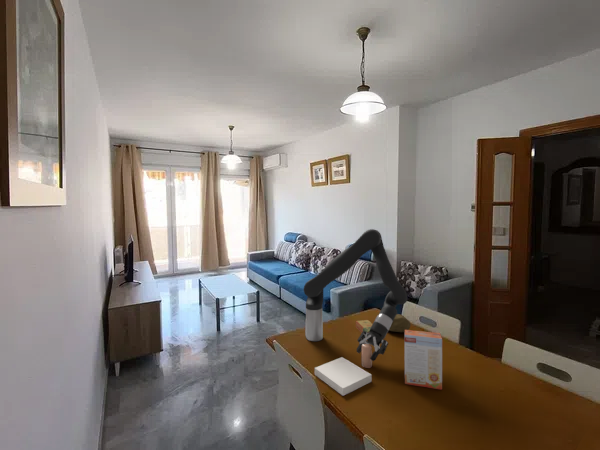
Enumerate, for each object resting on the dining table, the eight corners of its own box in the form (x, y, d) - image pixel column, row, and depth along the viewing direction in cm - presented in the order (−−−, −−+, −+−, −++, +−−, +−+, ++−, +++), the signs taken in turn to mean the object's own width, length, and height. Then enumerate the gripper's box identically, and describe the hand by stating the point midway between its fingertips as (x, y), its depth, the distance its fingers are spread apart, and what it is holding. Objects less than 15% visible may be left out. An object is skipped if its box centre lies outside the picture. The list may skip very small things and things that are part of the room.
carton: (368, 326, 181) (368, 319, 180) (380, 337, 165) (380, 330, 165) (355, 327, 179) (355, 320, 179) (367, 339, 163) (367, 331, 163)
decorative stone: (377, 331, 172) (377, 314, 171) (383, 325, 181) (383, 309, 181) (407, 338, 162) (407, 320, 162) (412, 331, 172) (412, 314, 171)
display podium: (314, 374, 128) (314, 367, 128) (341, 363, 137) (341, 356, 137) (343, 395, 114) (342, 388, 113) (371, 381, 123) (371, 374, 122)
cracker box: (440, 382, 122) (440, 332, 120) (442, 390, 116) (442, 338, 115) (404, 376, 126) (404, 328, 125) (404, 384, 120) (404, 334, 119)
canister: (359, 364, 136) (359, 345, 135) (366, 361, 139) (366, 342, 138) (367, 369, 132) (367, 349, 132) (374, 365, 135) (374, 346, 134)
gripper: (366, 317, 144) (349, 346, 139) (390, 326, 133) (372, 358, 127) (373, 325, 148) (357, 353, 142) (397, 334, 136) (380, 366, 130)
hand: (364, 356), depth 134 cm, fingers open, 8 cm apart
